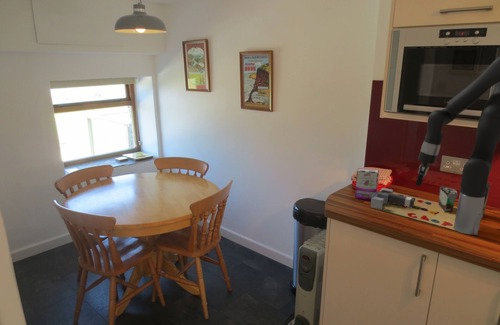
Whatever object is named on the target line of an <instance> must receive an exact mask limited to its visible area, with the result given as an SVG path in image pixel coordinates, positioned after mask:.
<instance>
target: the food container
mask: <svg viewBox="0 0 500 325" xmlns="http://www.w3.org/2000/svg"><path fill="white" fill-rule="evenodd" d="M438 198H439V199H438V204H437V205H438V206H439V208H440V209H441V210H442V209H443V210H442V211H443V212H444V213H450V212H453V209H454V207H455V206H454V205H455V202H456V199H457V198H459V195H458V191H457V190H456V189H454V188H451V187H447V186H440V187H439V196H438Z"/></svg>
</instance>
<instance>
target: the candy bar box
mask: <svg viewBox="0 0 500 325" xmlns="http://www.w3.org/2000/svg"><path fill="white" fill-rule="evenodd" d="M379 176H380V175H379V169H370V168H360V167H359V168H357V170H356V181H355V183H356V184H355V193H354V194H355V195H354V198H355V199H359V200H365V201H366V200H367V201H371V196H372V195H373V194H374V193H375V192H376V191H378V186H379V185H378V184H379Z"/></svg>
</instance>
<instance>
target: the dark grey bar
mask: <svg viewBox="0 0 500 325" xmlns="http://www.w3.org/2000/svg"><path fill="white" fill-rule="evenodd" d="M383 193H386V192H383ZM386 194H389V195H388V202H390V203H389V204H393V203H395V204H394V205H397V204H399V205H398V206H401V205H403V206H402V207H406V206H407V207H406V208H410V207H412V208H413V207H414V206H415V199H416V198H414V197H410V196H404V195H401V194H395V193H393V194H391V193H386Z"/></svg>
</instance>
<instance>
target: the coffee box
mask: <svg viewBox="0 0 500 325" xmlns="http://www.w3.org/2000/svg"><path fill="white" fill-rule="evenodd" d="M490 187H491V182H487V186H486V195H485V199H484V204H483V209H482V215H481V220H482V219H483V217H484V215H485V212H486V211H485V210H486V208H487V207H486V206H487V201H488V197H489V192H490Z"/></svg>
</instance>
